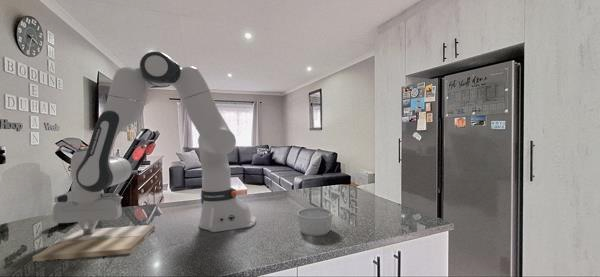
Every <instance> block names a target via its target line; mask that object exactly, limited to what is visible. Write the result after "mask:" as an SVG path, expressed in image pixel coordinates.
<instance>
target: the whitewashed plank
mask: <svg viewBox="0 0 600 277" xmlns="http://www.w3.org/2000/svg"><path fill="white" fill-rule="evenodd" d="M155 228H156V227H155V224H147V225H146V224H145V225H130V226H116V227H101V228H95V232H94V233H90V234H83V229H77V230H76V231H74V232H72V233H70V234H69V235H67V236H65V237H64V238H62V239H60V240H59V241H58V242H68V241H81V240H95V239H109V238H122V237H136V236H144V241H145V240H146V239H147V238H148V237H149V236H150V234H152V233H153V232H154V230H155Z"/></svg>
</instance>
